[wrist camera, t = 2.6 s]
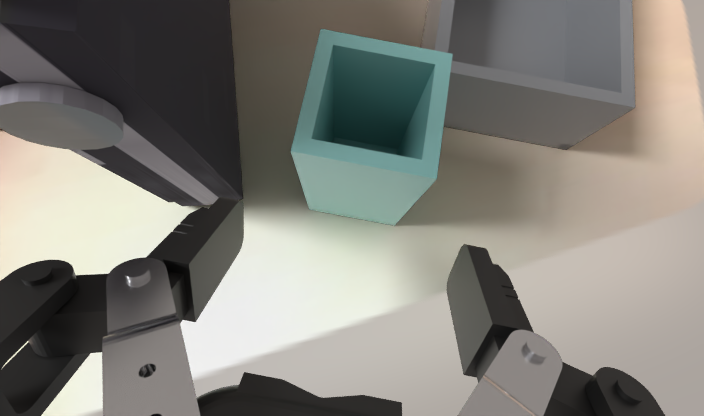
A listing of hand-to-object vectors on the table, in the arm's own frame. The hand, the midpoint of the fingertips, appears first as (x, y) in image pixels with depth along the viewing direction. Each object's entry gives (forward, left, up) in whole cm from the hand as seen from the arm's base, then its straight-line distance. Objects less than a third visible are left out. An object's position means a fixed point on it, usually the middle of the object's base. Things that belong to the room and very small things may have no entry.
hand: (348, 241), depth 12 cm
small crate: (-5, +4, -11) cm, 12 cm away
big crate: (-9, +19, -10) cm, 23 cm away
